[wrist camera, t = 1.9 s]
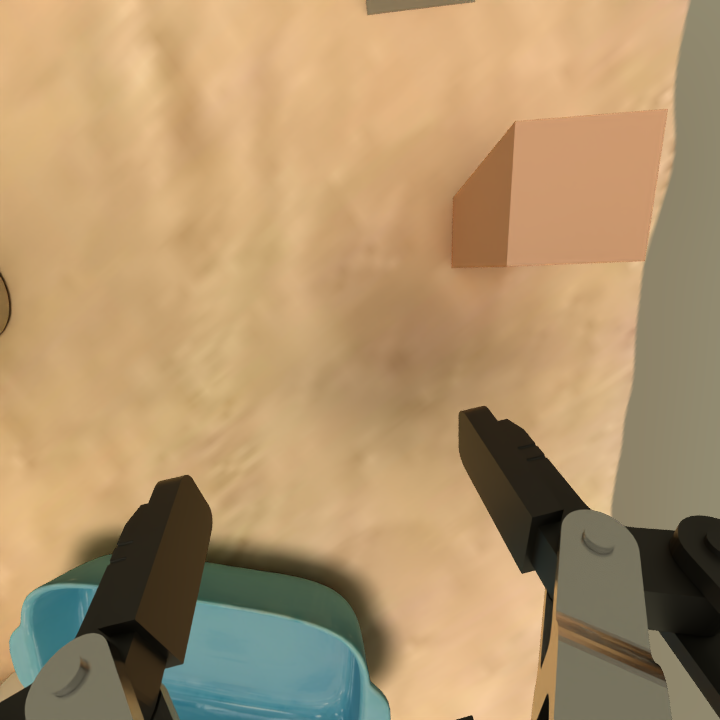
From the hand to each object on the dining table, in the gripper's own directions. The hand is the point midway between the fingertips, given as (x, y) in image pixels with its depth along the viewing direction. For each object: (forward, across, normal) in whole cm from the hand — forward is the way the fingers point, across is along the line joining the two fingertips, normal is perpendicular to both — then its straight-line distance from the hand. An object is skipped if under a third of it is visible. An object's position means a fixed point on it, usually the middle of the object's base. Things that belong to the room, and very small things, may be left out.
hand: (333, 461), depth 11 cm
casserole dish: (+13, -18, -35) cm, 41 cm away
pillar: (+18, +14, +1) cm, 23 cm away
